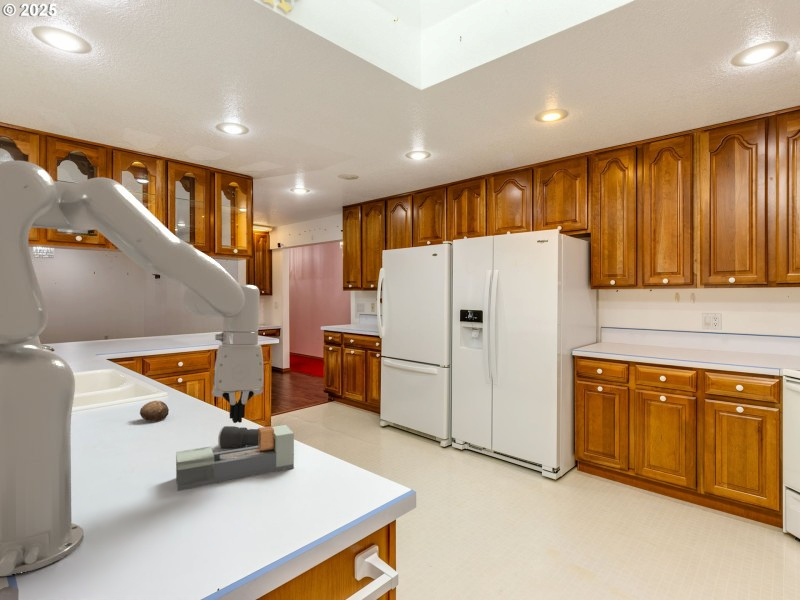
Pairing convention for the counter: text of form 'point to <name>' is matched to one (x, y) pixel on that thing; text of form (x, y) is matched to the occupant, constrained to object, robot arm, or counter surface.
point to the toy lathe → (233, 462)
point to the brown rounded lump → (154, 411)
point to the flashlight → (237, 437)
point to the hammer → (263, 443)
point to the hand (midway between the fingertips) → (236, 421)
